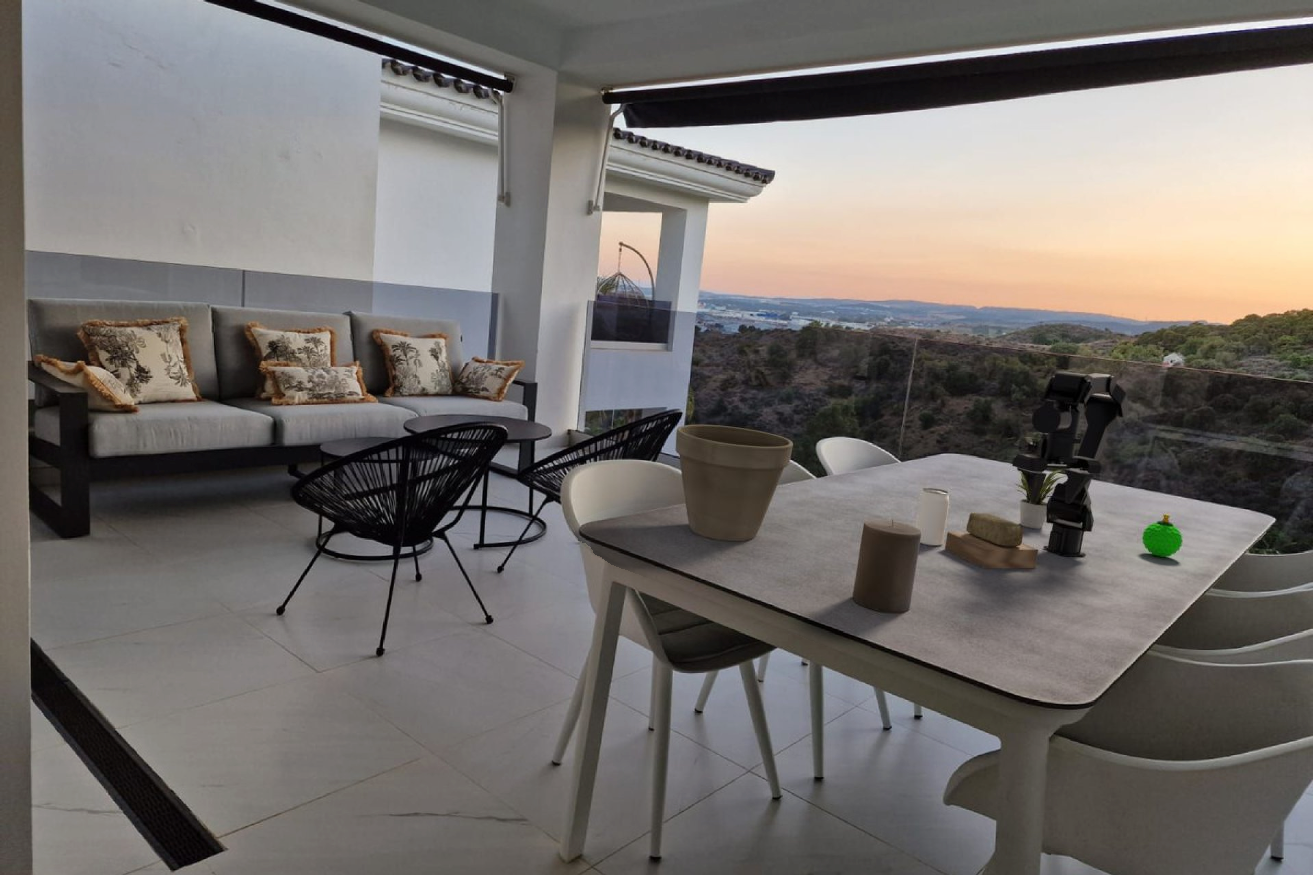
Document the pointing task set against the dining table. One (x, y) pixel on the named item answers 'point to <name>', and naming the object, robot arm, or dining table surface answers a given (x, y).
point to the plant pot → (729, 478)
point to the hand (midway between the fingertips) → (1050, 502)
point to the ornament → (1162, 538)
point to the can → (932, 516)
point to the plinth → (990, 552)
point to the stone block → (995, 529)
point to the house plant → (1035, 512)
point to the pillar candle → (886, 566)
